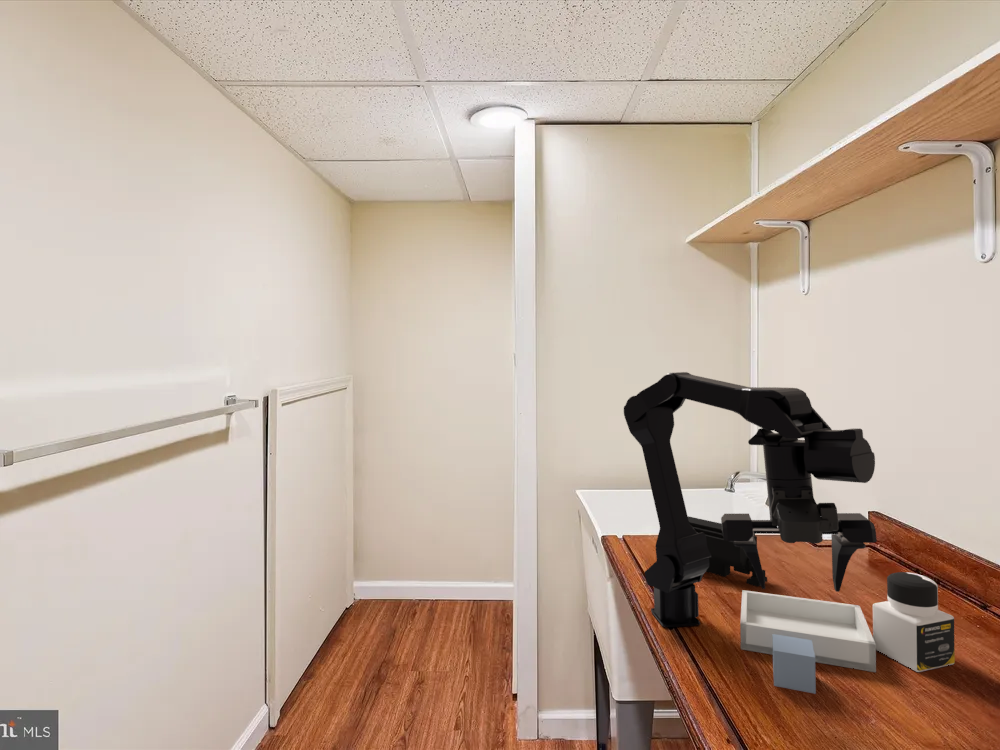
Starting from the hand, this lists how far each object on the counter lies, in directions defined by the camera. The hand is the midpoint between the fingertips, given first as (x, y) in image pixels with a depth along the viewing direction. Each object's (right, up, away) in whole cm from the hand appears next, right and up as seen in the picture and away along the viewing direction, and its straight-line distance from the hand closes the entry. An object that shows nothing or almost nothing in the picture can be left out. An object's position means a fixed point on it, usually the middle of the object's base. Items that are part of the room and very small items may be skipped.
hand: (799, 589), depth 78 cm
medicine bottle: (+19, -12, +5) cm, 23 cm away
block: (-1, -13, 0) cm, 13 cm away
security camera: (+4, -12, +39) cm, 41 cm away
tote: (+6, -12, +11) cm, 17 cm away
